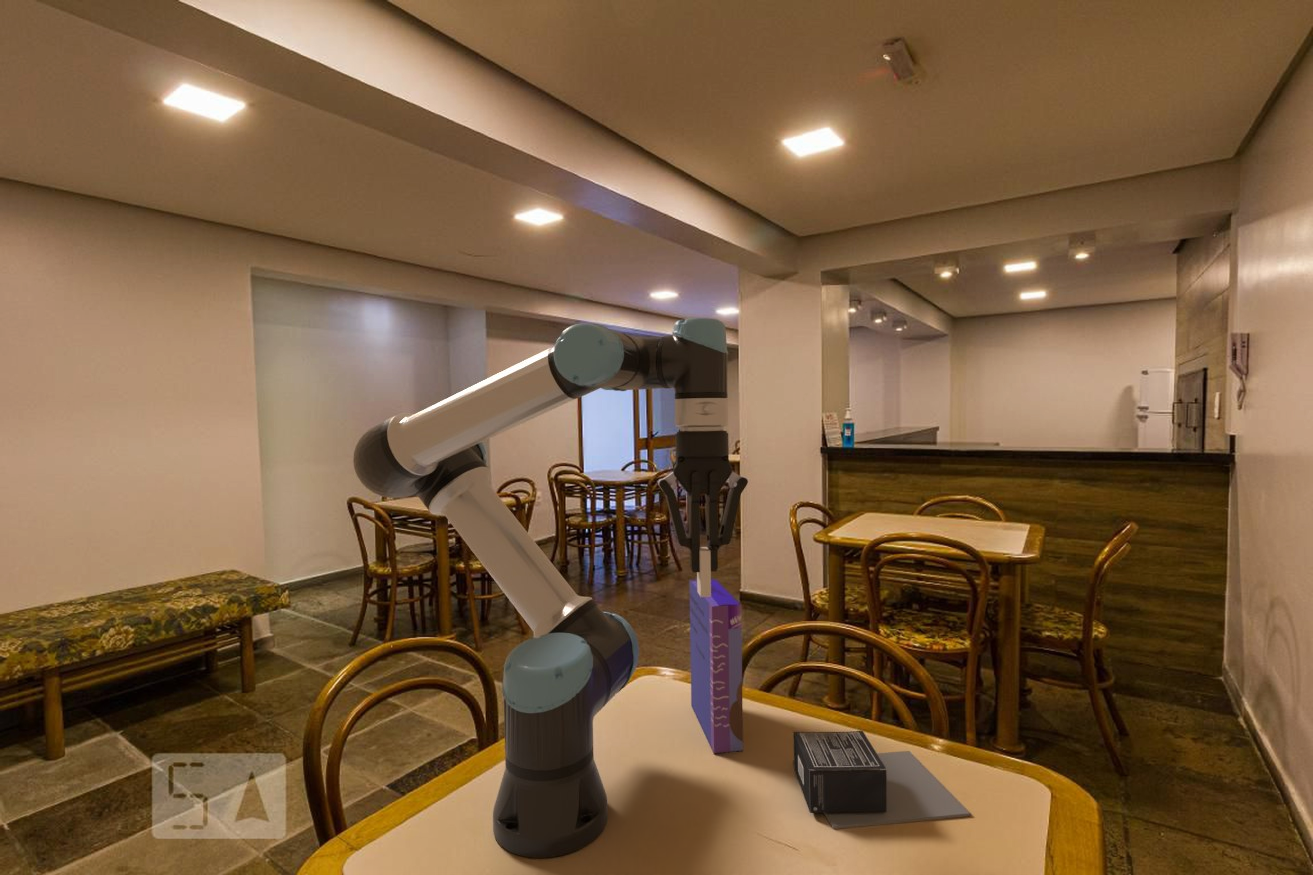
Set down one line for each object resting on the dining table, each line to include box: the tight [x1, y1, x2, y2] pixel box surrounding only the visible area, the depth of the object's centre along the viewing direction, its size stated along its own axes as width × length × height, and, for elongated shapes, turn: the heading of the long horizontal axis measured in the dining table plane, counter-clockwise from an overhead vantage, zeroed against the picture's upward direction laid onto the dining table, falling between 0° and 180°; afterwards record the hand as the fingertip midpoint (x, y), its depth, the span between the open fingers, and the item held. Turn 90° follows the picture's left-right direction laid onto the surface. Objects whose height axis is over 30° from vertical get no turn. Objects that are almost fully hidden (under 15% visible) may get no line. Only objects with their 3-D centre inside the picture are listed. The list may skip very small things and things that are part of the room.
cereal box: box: [688, 577, 744, 755], centre depth 109 cm, size 17×5×24 cm, turn 9°
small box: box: [793, 730, 887, 814], centre depth 89 cm, size 11×6×10 cm
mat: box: [792, 750, 972, 830], centre depth 91 cm, size 19×16×1 cm
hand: (704, 593), depth 91 cm, fingers closed
